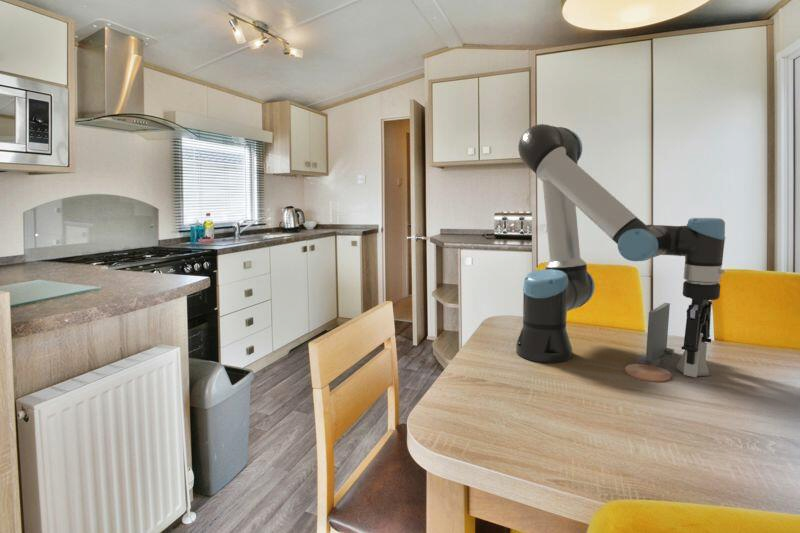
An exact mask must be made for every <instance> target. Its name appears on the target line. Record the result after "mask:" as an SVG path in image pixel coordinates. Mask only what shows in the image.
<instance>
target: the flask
mask: <svg viewBox="0 0 800 533" xmlns="http://www.w3.org/2000/svg"><path fill="white" fill-rule="evenodd" d="M702 337H703V334H702V333H701V335H700V340H699V346H698V351H699V360H698V372H697V377H703V376H705V377H706V376H711V375H710V371H709V368H708V364H707V362H706V361H707V360H706V361H705V358H704V354H703V351H702V344H701V340H702ZM691 346H692V345H691ZM678 360H679V361H678V362H677V364H676V370H677V371H679V372H680V373H683V374H684V362H685V350H684V351H683V353H682V355H681V357H680V359H678Z"/></svg>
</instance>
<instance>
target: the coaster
mask: <svg viewBox="0 0 800 533" xmlns="http://www.w3.org/2000/svg"><path fill="white" fill-rule="evenodd" d="M624 371H625V373H626V374H627V375H629V376H630V377H632V378H635V379H638V380H641V381H646V382H654V383H656V382H657V383H658V382H660V383H661V382H667V381H670V380H671V379H672V373H671V372H670V371H668V370H667V369H664V368H663V367H660V366H655V365H650V364H646V363H632V364H628V365H626V366H625V368H624Z"/></svg>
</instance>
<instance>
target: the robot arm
mask: <svg viewBox="0 0 800 533" xmlns="http://www.w3.org/2000/svg"><path fill="white" fill-rule="evenodd" d="M517 147H518V153H519V157H520V159H521V161H522V162H523V163H524V164H525V165H526V166H527V167H528V168H529V169H530V170H531V171H532V172H533V173H535V175H536V178H538V179H539V180H540V181H541V182H542V187H543V188H542V190H543V200H544V210H545V211H544V212H545V220H546V222H545V223H546V230H547V231H546V232H547V241H548V252H549V254H548V255H549V261H548V262H547V264H546V265H545V266H544V267H545V269H541V270H539V269H538V270H534V271H531V272H529V273H527V274H526V275H525V277H524V280H523V281H524V282H523V286H522V291H523V298H522V299H523V305H522V306H523V309H522V310H523V312H522V328H521V329H520V333H519V334H518V335H519V336H518V338H517V341H516V343H515V344H516V345H515V348H516V349H515V352H516V354H517V355H518V356H520V357H521V358H524V359H526V360H529V361H533V362H541V363H562V362H565V361H568V360H570V359H571V358H573V347H572V344H571V340H570V336H569V334H568V332H567V312H569V311H572V310H574V309H577V308H578V309H579V308H580V307H582V306H584V305H585V304H586V303H588V302H589V301H590V300H591V299H592V297H593V295H594V292H595V287H596V286H595V281H594V279H593V276H592V275H591V274H590V273H589V272H588V267H587V262H586V261H585V260H583V259H582V258H581V253H580V252H581V251H580V241H579V240H580V239H579V230H578V229H579V228H578V220H577V218H578V217H577V208H578V209H579V211H581V212H582V213H583V214H584V215H585V216H587V217H588V218H589V219H590V221H592V222H593V223H594V224H595V225H596V226H597V227H598V228H599V229H600V230H602V232H604V233H605V234H606V236H608V237H609V238H610V239H611V240H612V241H613V242H614V243H616V244H617V249H618V252H619V255H621V256H622V257H623V258H624V259H625V260H627V261H630V262H645V261H648V260H650V259H651V258H656V257H658V256H673V257H674V256H677V257H684V258H685V260H684V268H683V279H684V280H685V281H683V285H682V295H683V297H684V298H689V299H691V304H688V307H687V310H686V322H685V330H684V338H683V339H684V340H683V346H681V350H684V351H685V362H684V373H683V376H688V377H692V378H698V376H697V372H698V360H699V351H698V346H699V340H700V335H701V333H702V334H703V337H702V340H701V344H702V351H703V354H704V358H705V361H707V350H708V349H707V348H708V343H712V338H711V334H710V332H711V331H710V330H711V314H712V312H711V311H712V305H713V302H712V301H715V300H719V299H720V295H721V284H720V283H719V282H721V280H722V274H723V275H724V274H725V273H726V271H725V269H723V268H722V267H723V260H724V259H723V257H724V248H725V242H726V236H725V235H726V223H725V221H724V219H722V218H717V217H692V218H689V219H688V221H687V223H686V225H662V224H661V225H657V224H655V225H654V224H646V223H644V222H643V221H642V220H641V219H640V218H638V216H637V215H635V214H634V213H633V212H632V211H631V210H630V209H629V208H627V207H626V206H625V205H624V204H623V203H622V202H620V200H618V199H617V198H616V197H615V196H613V194H612V193H610V191H609V190H607V189H605V187H603V185H601V184H600V183H599V182H598V181H597V180H595V179H594V178H593V177H592V176H591V175H590V174H589V173H587V172H586V170H584V169H583V168H582V167H580V165H578V161H579V160H580V159H581V156H582V154H583V143H582V140H581V138H580V137H579V135H578V134H577V133H576V132H575V131H573V130H571V129H569V128H566V127H564V126H554V125H549V124H544V123H542V124H534V125H533V126H531V127H529V128H528V129H527V130H525V131H524V132H523V133H522V135H521V136H520V138H519V142H518V146H517ZM576 207H577V208H576ZM691 345H692V346H691Z"/></svg>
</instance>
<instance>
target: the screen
mask: <svg viewBox="0 0 800 533" xmlns="http://www.w3.org/2000/svg"><path fill="white" fill-rule="evenodd" d="M670 306H671V303H669V302H664V303H662V304H660V305H659V306H657V307H655V308H653V309H652V310H650V311H649V312H648V320H647V321H648V322H647V336H646V350H645V351H646V354H645V356H643V355H642V356H641V355H639V357H638V358H637V362H638V363H641V364H647V365H653V366H657V367H660V366H661V365H662V360H659V358H660V357H661V356H662V355H664V354H668V355H673V354H674V353H675V349H674V348H670V347H668V346H667V345H668V336H669V335H668V334H669V322H670V321H669V320H670V308H671V307H670Z"/></svg>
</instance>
